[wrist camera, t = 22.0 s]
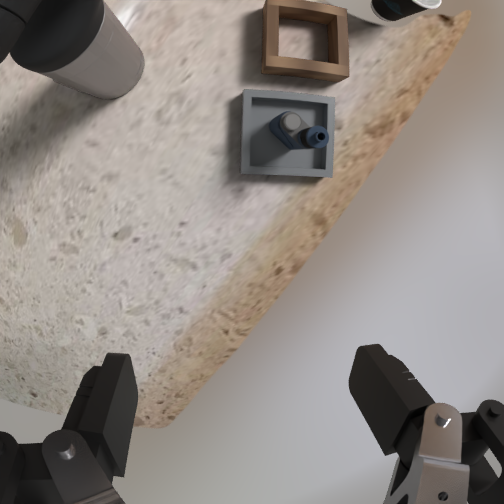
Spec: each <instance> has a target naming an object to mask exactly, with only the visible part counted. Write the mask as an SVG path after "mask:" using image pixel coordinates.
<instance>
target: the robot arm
mask: <svg viewBox="0 0 504 504" xmlns="http://www.w3.org/2000/svg"><path fill="white" fill-rule="evenodd" d="M9 52H10V55H11V57H12V58H13V60H14V61H15V62H16V63H17V64H18V65H20V66H22V67H23V68H26V69H28V70H31V71H34V72H37V73H39V74H42V75H44V76H47V77H49V78H52V79H53V81H54V82H57V83H59V84H62V85H64V86H67V87H69V88H72V89H74V90H77V91H79V92H82V93H88V94H90V95H92V96H95V97H97V98H100V99H114V98H117V97H120V96H122V95H124V94H126V93H127V92H128V91H130V90H131V89H132V88H133V87H134V86H135V85H136V84H137V82H138V81H139V79H140V78H141V75H142V73H143V69H144V56H143V53H142V51H141V50H140V48H139V47H138V45H137V44H136V43H135V41H134V40H133V38H132V37H131V36H130V34H129V33H128V32H127V30H126V29H125V28H124V26H123V25H122V24H121V23H120V21H119V20H118V19H117V17H116V16H115V15H114V13H113V12H112V11H111V9H110V8H109V7H108V6H107V4H106V3H105V2H104V0H0V63H1V62H3V60H4V59H5V58H6V57H7V55H8V54H9ZM349 389H350V393H351V395H352V396H353V398H354V400H355V401H356V404H357V405H358V407H359V409H360V411H361V412H362V414H363V416H364V418H365V420H366V422H367V423H368V425H369V427H370V429H371V431H372V432H373V434H374V436H375V438H376V440H377V442H378V444H379V445H380V447H381V449H382V451H383V453H384V454H385V456H386V455H389V454H392V453H396V452H397V453H398V455H399V457H398V459H397V461H396V464H395V468H394V471H393V475H392V478H391V482H390V485H389V488H388V491H387V495H386V498H385V500H384V503H383V504H467V502H468V503H469V504H504V405H503V404H502V403H500V402H498V401H496V400H485V401H483V402H482V403H481V404H480V406H479V408H478V409H477V411H476V412H469V413H459V411H458V410H457V409H456V408H454V407H453V406H451V405H448V404H445V403H435V402H434V400H433V399H432V398H431V396H430V395H429V394H428V393H427V391H426V390H425V389H424V388H423V387H422V385H421V384H420V383H419V382H418V380H417V379H415V377H414V375H413V374H412V373H411V372H409V369H408V368H407V367H406V366H405V365H404V363H403V362H402V361H400V360H399V359H397V358H396V357H394V356H392V355H388V354H387V352H386V351H385V350H384V349H383V347H382V346H381V345H380V344H372V345H365V346H360V347H358V349H357V351H356V355H355V359H354V362H353V366H352V370H351V373H350V377H349ZM137 403H138V389H137V384H136V380H135V375H134V371H133V366H132V361H131V357H130V355H129V354H122V353H107V355H106V357H105V359H104V362H103V364H102V366H93V367H92V368H91V369H90V370H89V371H88V372H87V373H86V374H85V375H84V376H83V379H82V381H81V383H80V388H78V390H77V392H76V396H75V397H74V400H73V402H72V404H71V407H70V409H69V412H68V414H67V417H66V419H65V422H64V424H63V427H62V429H61V430H57V431H55V432H53V433H51V434H49V435H48V436H47V437H46V438H45V440H44V441H43V443H33V444H32V443H31V444H18V443H17V442H16V440H15V439H14V437H12V435H10V434H8V433H6V432H1V431H0V504H125V502H124V501H123V500H122V498H121V497H120V496H119V494H118V493H117V492H116V490H115V489H114V487H113V486H112V481H113V476H118V477H124V474H125V467H126V462H127V455H128V450H129V444H130V439H131V433H132V428H133V423H134V418H135V413H136V408H137ZM489 448H490V450H491V451H492V453H493V454H494V455H495V457H496V458H497V460H498V461H499V463H500V464H501V467H502V473H501V476H500V477H499V478H498V477H497V475H496V474H495V472H494V470H493V469H492V467H491V466H490V465H489V463H488V461H487V460H486V458H485V457H484V454H485V453H486V451H487V450H488V449H489Z"/></svg>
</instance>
